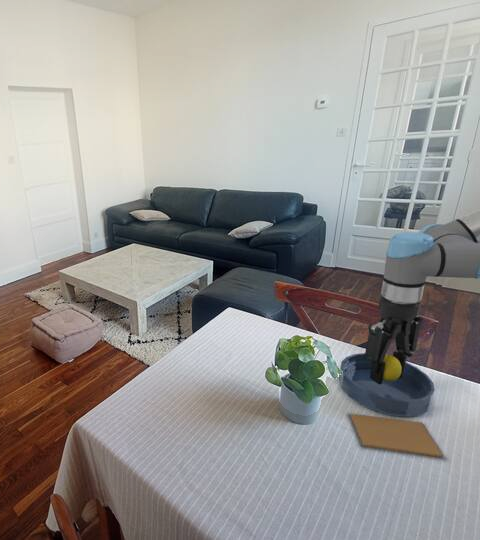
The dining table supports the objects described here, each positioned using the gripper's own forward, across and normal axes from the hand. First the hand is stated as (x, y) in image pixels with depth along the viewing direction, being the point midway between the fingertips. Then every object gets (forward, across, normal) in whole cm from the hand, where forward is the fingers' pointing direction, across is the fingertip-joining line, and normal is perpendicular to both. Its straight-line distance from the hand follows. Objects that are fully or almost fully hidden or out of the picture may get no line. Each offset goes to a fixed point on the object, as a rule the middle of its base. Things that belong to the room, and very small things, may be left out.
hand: (385, 377), depth 88 cm
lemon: (+1, 0, 0) cm, 1 cm away
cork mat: (+4, +11, +12) cm, 16 cm away
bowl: (+4, 0, 0) cm, 4 cm away
